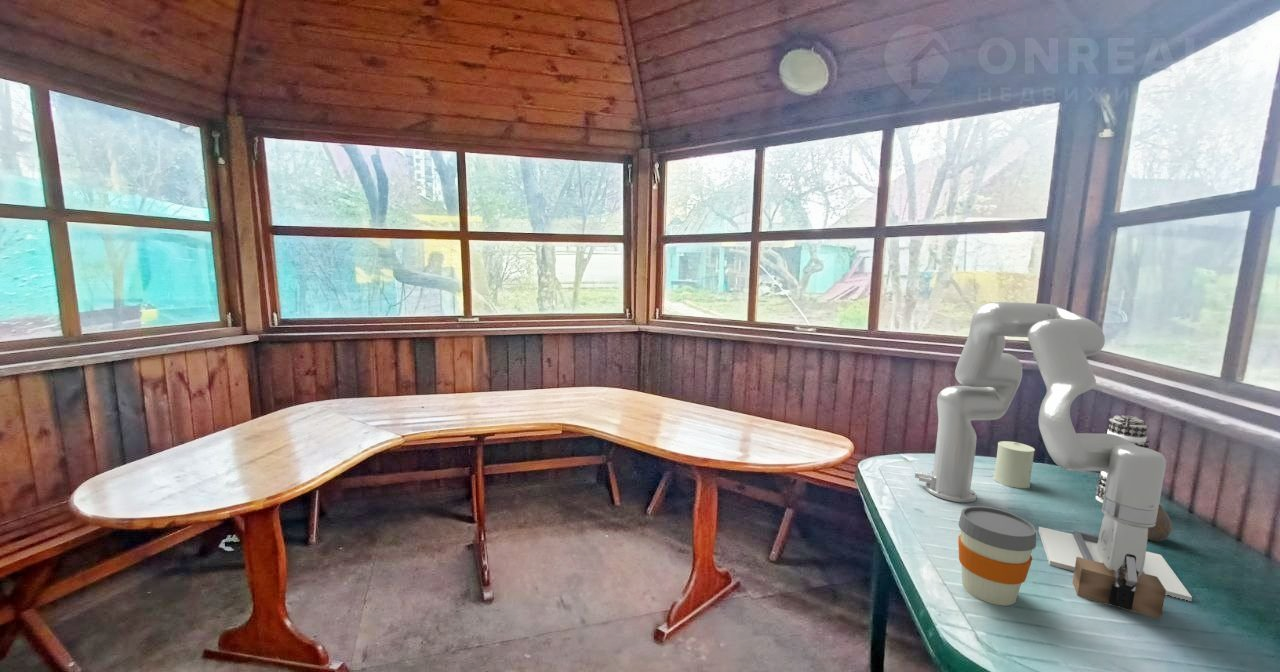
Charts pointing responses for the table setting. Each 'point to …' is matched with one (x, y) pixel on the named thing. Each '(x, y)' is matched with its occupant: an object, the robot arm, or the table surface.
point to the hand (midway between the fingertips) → (1114, 595)
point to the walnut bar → (1097, 581)
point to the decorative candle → (1129, 430)
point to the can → (1014, 464)
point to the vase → (1160, 526)
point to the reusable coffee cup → (994, 553)
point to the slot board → (1084, 545)
